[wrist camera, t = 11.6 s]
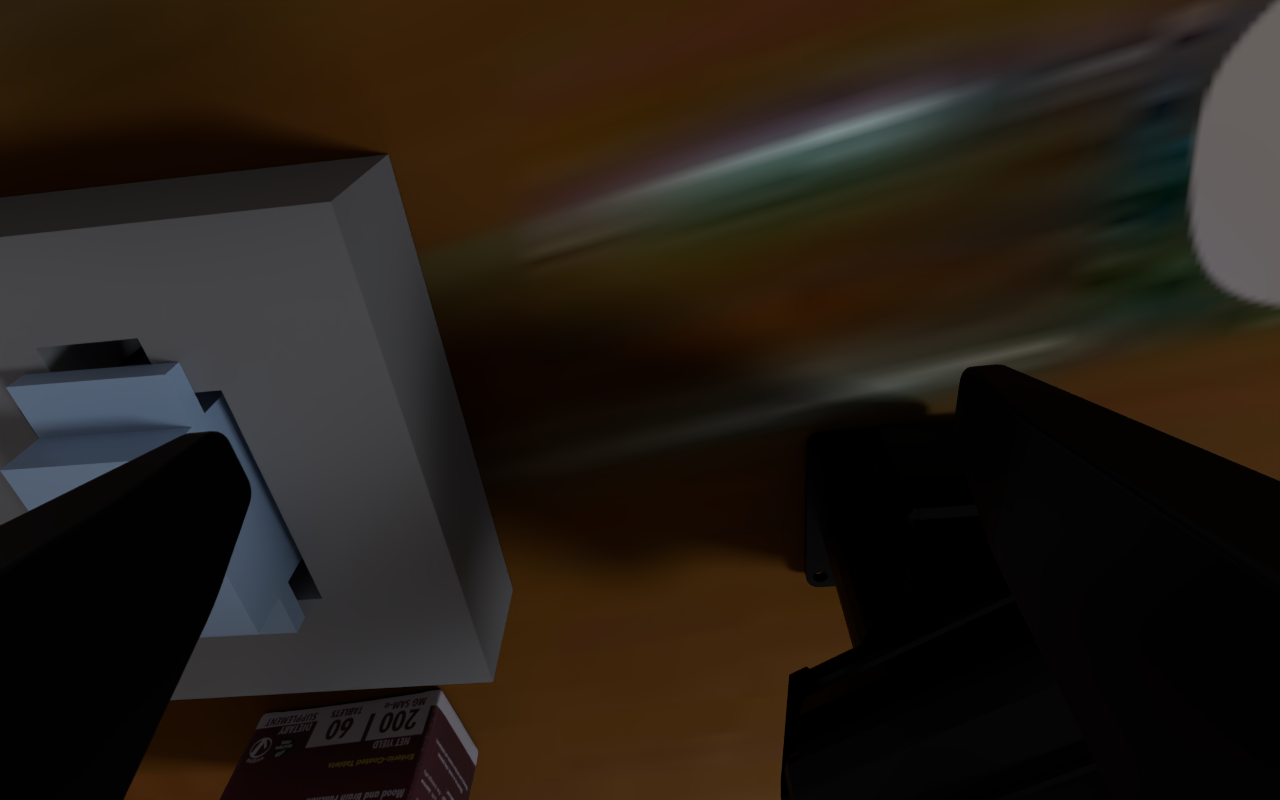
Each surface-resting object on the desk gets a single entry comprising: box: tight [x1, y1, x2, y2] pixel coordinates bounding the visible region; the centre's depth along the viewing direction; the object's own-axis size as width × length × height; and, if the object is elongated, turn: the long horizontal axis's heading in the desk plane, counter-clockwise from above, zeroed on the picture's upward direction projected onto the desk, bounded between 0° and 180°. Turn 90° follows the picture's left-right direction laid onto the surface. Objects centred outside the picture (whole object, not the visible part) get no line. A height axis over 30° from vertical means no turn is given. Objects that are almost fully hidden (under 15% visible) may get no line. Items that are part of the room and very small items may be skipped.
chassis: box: [0, 154, 513, 700], centre depth 22 cm, size 16×14×4 cm
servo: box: [0, 352, 305, 638], centre depth 21 cm, size 9×4×6 cm, turn 6°
